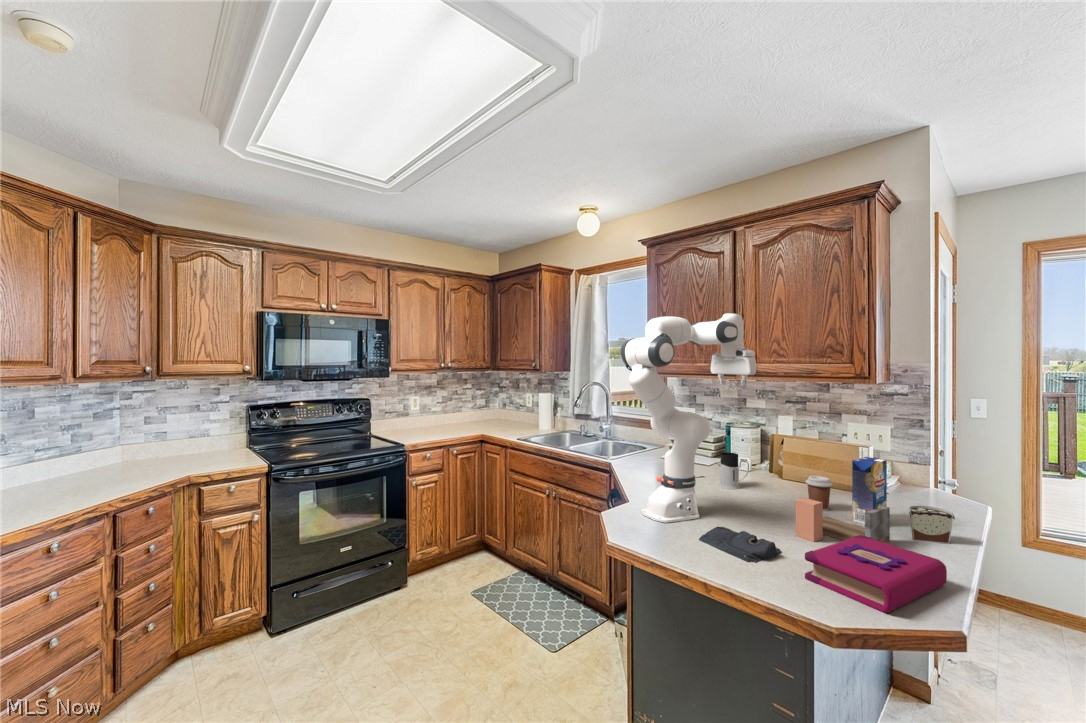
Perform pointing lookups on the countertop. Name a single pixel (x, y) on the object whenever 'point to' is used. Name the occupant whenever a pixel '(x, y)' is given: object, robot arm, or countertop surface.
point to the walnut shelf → (874, 527)
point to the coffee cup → (819, 490)
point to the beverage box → (868, 486)
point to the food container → (930, 524)
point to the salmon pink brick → (809, 519)
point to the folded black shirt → (740, 544)
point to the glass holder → (730, 471)
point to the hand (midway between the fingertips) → (732, 385)
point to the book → (875, 572)
